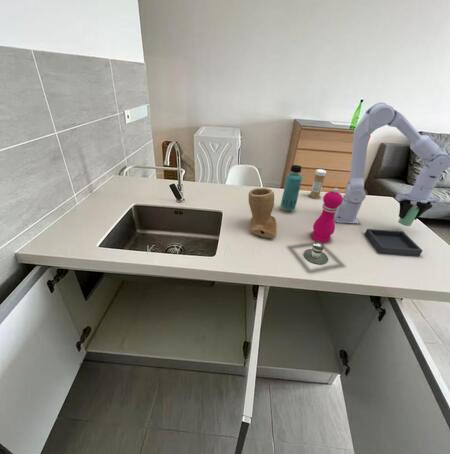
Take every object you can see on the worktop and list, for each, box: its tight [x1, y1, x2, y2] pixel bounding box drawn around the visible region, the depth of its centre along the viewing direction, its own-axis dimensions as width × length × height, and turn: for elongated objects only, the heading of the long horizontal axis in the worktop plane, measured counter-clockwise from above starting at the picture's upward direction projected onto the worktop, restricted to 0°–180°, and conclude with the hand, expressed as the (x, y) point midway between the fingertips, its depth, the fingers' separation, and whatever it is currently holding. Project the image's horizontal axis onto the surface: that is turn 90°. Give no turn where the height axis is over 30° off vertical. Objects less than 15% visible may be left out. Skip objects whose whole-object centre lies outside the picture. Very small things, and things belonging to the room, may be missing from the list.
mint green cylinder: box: [397, 203, 419, 227], centre depth 94 cm, size 4×4×8 cm
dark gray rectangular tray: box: [364, 228, 423, 257], centre depth 87 cm, size 14×12×2 cm
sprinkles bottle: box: [309, 168, 327, 199], centre depth 116 cm, size 5×5×14 cm
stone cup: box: [248, 187, 278, 239], centre depth 89 cm, size 15×12×15 cm
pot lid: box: [303, 241, 329, 265], centre depth 79 cm, size 12×12×5 cm
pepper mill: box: [311, 187, 343, 244], centre depth 84 cm, size 7×7×20 cm
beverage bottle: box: [280, 164, 303, 211], centre depth 101 cm, size 6×7×20 cm
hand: (407, 217), depth 94 cm, fingers closed on mint green cylinder, 4 cm apart
